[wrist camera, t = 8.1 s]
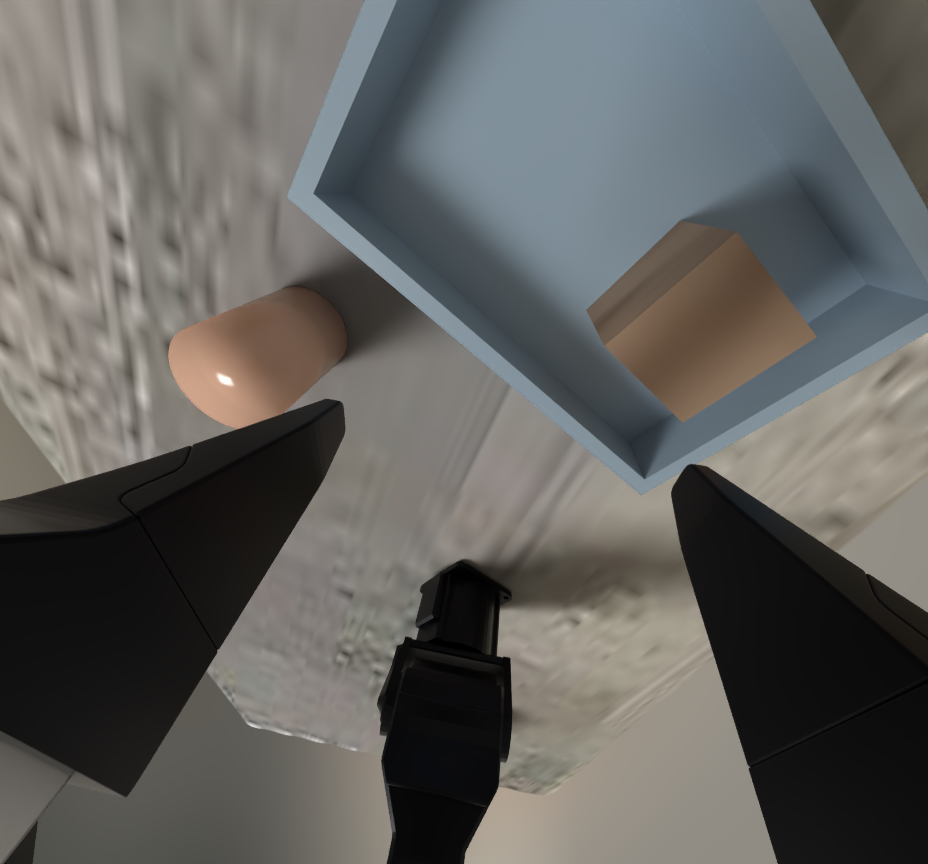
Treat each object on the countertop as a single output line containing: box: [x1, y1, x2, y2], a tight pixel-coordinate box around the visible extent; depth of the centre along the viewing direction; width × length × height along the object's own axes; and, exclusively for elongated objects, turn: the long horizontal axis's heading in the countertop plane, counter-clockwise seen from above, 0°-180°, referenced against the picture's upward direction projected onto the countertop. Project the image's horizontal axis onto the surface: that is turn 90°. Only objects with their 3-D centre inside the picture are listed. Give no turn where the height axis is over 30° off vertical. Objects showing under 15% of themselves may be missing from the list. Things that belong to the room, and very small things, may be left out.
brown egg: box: [169, 287, 347, 429], centre depth 18 cm, size 5×5×7 cm
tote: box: [287, 0, 928, 495], centre depth 15 cm, size 22×14×4 cm, turn 51°
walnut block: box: [586, 221, 817, 423], centre depth 15 cm, size 5×5×5 cm
